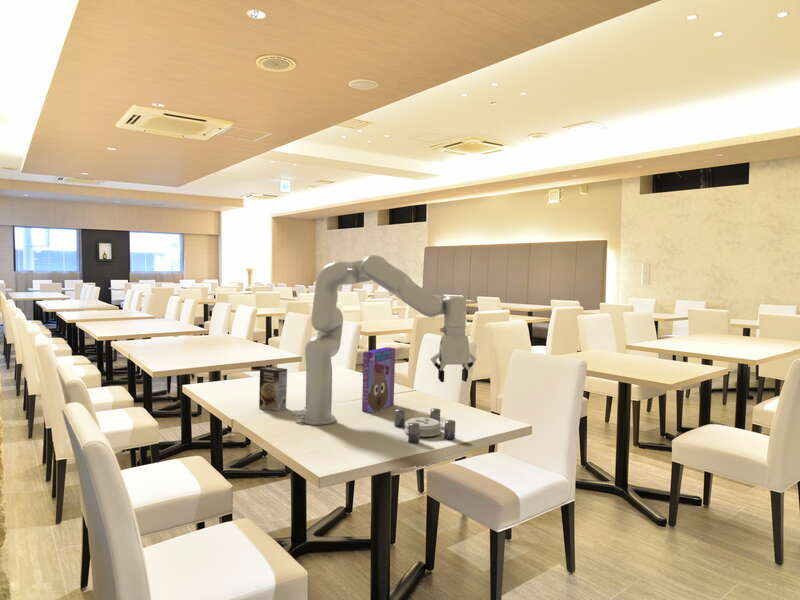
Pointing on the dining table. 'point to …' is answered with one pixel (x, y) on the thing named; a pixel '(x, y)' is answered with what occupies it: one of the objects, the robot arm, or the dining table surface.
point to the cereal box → (378, 379)
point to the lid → (425, 426)
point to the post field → (414, 427)
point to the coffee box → (273, 388)
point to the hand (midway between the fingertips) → (453, 380)
